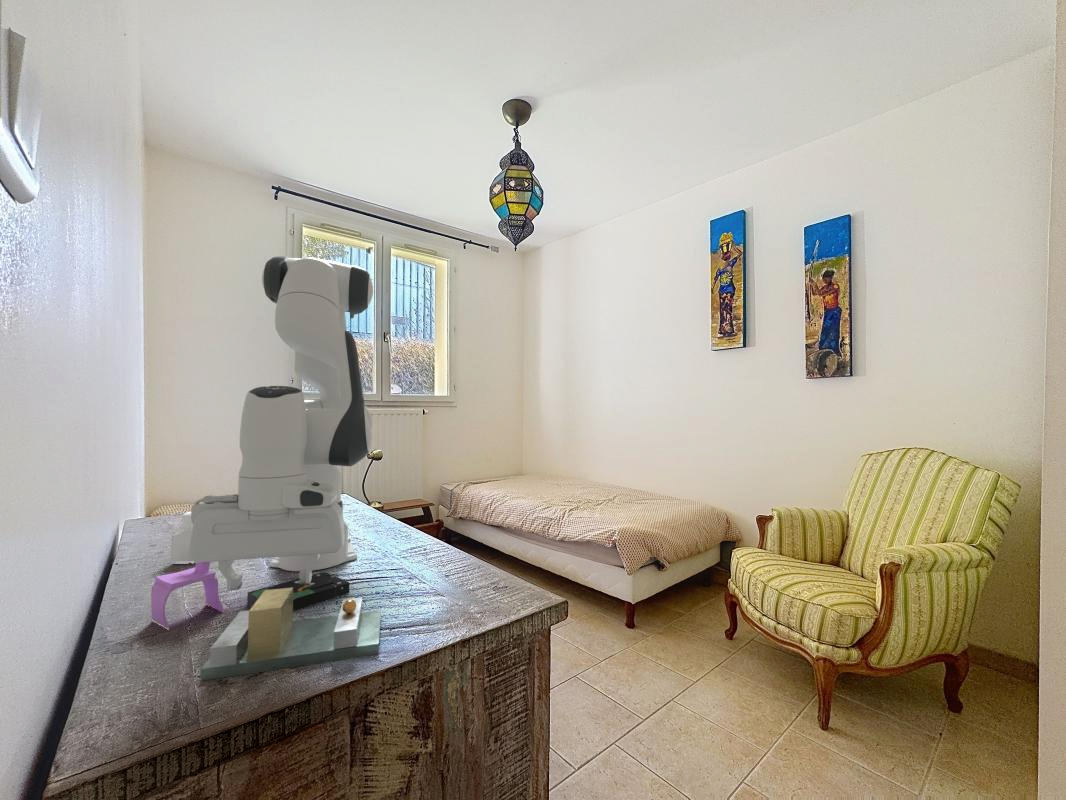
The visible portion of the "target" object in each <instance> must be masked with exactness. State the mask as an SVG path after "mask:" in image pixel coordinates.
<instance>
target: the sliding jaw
mask: <svg viewBox="0 0 1066 800" xmlns="http://www.w3.org/2000/svg"><path fill="white" fill-rule="evenodd" d="M340 606H341V607H340V610H339V613H338V615H339V616H338V620H337V623H336V627H335V630H334V649H340V648H347V647H353V646H357V640H358V634H359V628H360V622H361V616H362V612H363V597H355V598H347V599H346V598H345V599H344V598H343V599H342V603H341V605H340Z"/></svg>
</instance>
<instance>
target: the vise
mask: <svg viewBox="0 0 1066 800" xmlns="http://www.w3.org/2000/svg"><path fill="white" fill-rule="evenodd" d="M249 610H250V609H249ZM249 610H240V611H239V612H238V614H237V615H235V617H234V618H233V619H232V621H231V622H229V623H230V624H229V625H228V626H227V627H226V628H225V629H224V630H223V632H222V633H221V634H220V636H219V637H218V638H217V639H216V641H215V642H214V643H213V644H212V645H211V646H210V648H209V649H210V650H209V658H208V659H207V660H206V662H205V663H204V664H203V666H202V667H201V668H200V677H199V679H200V682H203V681H209V680H217V679H222V678H229V677H236V676H243V675H248V674H249V675H250V674H254V673H255V674H256V673H262V672H268V671H270V672H271V671H276V670H282V669H289V668H296V667H303V666H309V665H315V664H322V663H328V662H335V661H342V660H347V659H348V660H349V659H355V658H362V657H369V656H376V655H379V651H380V650H379V649H380V635H381V622H382V621H381V620H382V610H381V609H380V610H379V609H377V610H370V611H362V616H361V622H360V628H359V634H358V640H357V646H353V647H347V648H340V649H334V630H335V627H336V623H337V620H338V616H339V614H337V615H331V616H330V615H329V616H321V617H314V618H307V619H297V620H293V626H292V628H291V630H290V632H289V634H288V636H287V638H286V640H285V642H284V644H283V646H282V648H281V650H280V651H276V652H269V653H261V654H254V655H248V621H249Z"/></svg>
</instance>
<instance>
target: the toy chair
mask: <svg viewBox="0 0 1066 800" xmlns="http://www.w3.org/2000/svg"><path fill="white" fill-rule="evenodd" d="M210 565H211V562H199V563H196V564H195V567H191V568H188V569H184V570H180V571H178V572H173V573H167V574H163V575H158V576H155V581H154V583H153V585H152V586H151V591H150V592H151V593H150V600H151V601H150V605H151V606H150V607H151V620H152V619H153V620H154V621H156V622H157V623H159V624H161V625H163V626H164V627H166V628H170V626H169V623H168V620H167V617H166V611H165V610H166V609H165V608H166V604H167V601H168V599H169V596H170V594H172V592H174V591H175V590H178V589H180V588H183V587H186V586H189V585H191V584H196V583H200V582H202V584H203V588H204V593H205V605H206V604H208V605H210V606H212V607H214V608H215V609H218V610H219V611H218V612H220V611H222V612H223V611H224V612H225V609H224V606H223V605H222V602H221V599H220V596H219V581H218V578H216V572H214V571H211V570H210ZM215 609H214V610H215ZM222 612H221V613H222ZM224 612H223V613H224Z"/></svg>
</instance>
